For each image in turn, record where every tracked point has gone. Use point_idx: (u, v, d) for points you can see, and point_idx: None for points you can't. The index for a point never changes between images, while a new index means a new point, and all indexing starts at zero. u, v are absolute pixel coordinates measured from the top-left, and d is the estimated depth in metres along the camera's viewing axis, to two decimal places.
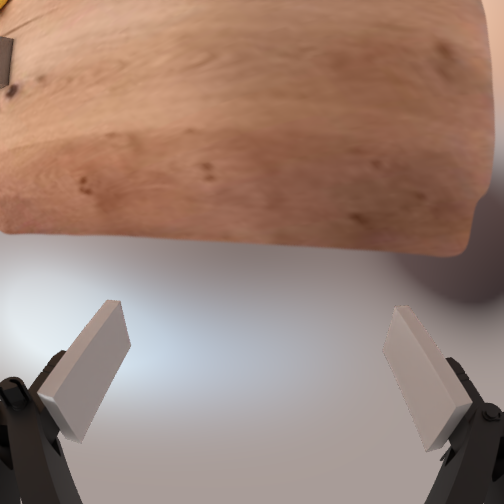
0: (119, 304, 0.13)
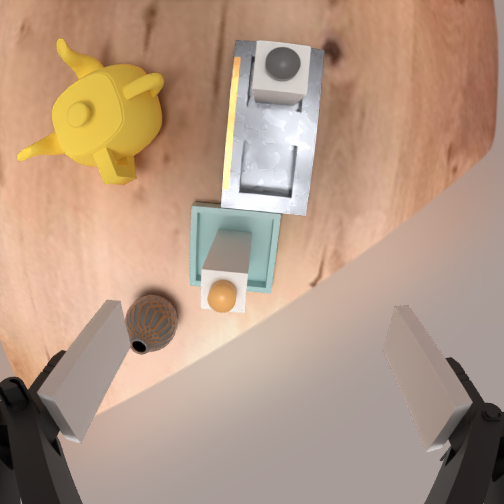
0: (119, 304, 0.13)
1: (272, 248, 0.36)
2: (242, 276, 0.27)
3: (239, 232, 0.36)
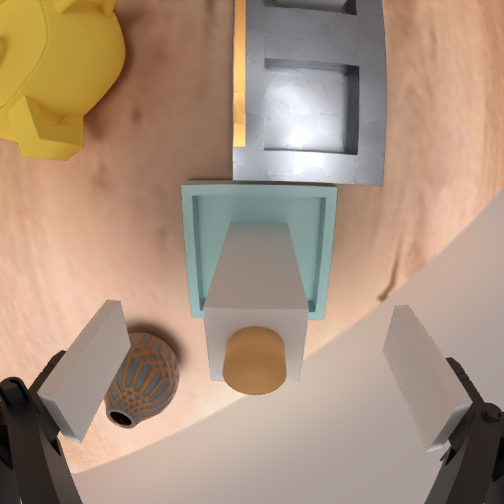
0: (119, 304, 0.13)
1: (325, 247, 0.21)
2: (296, 315, 0.12)
3: (266, 224, 0.21)
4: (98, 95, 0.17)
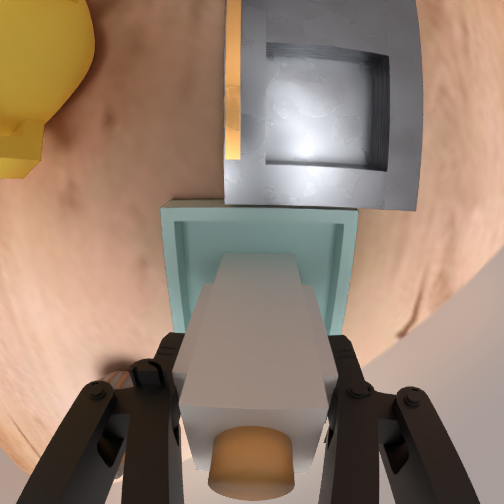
0: None
1: (340, 284, 0.16)
2: (309, 414, 0.07)
3: (268, 256, 0.17)
4: (60, 96, 0.12)
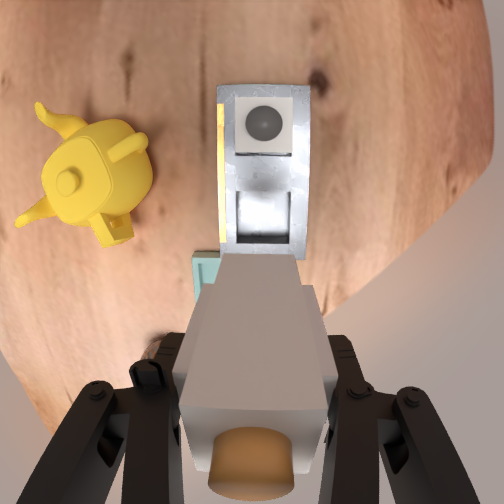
0: None
1: None
2: (309, 415, 0.07)
3: (268, 256, 0.17)
4: (138, 202, 0.32)
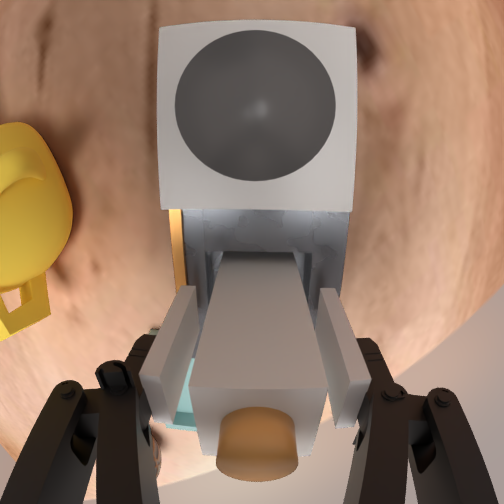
0: (194, 289, 0.15)
1: None
2: (311, 394, 0.08)
3: None
4: (54, 259, 0.18)
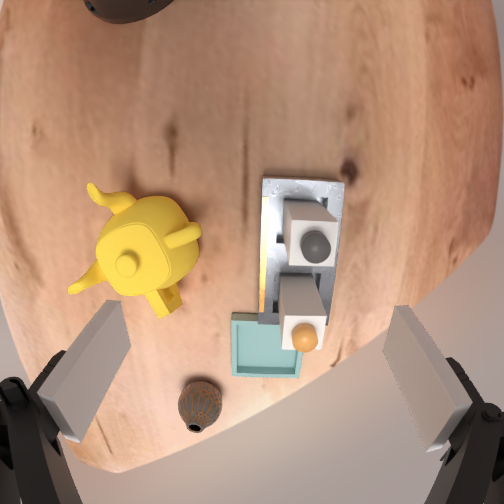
0: (119, 304, 0.13)
1: None
2: (321, 318, 0.28)
3: None
4: None
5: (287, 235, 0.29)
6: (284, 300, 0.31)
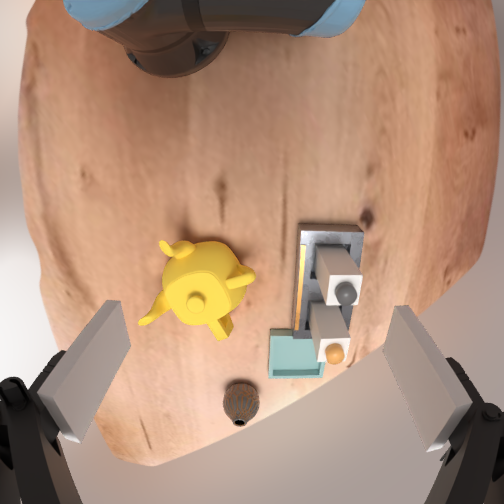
0: (119, 304, 0.13)
1: None
2: (346, 339, 0.38)
3: None
4: None
5: (323, 280, 0.38)
6: (318, 325, 0.41)
